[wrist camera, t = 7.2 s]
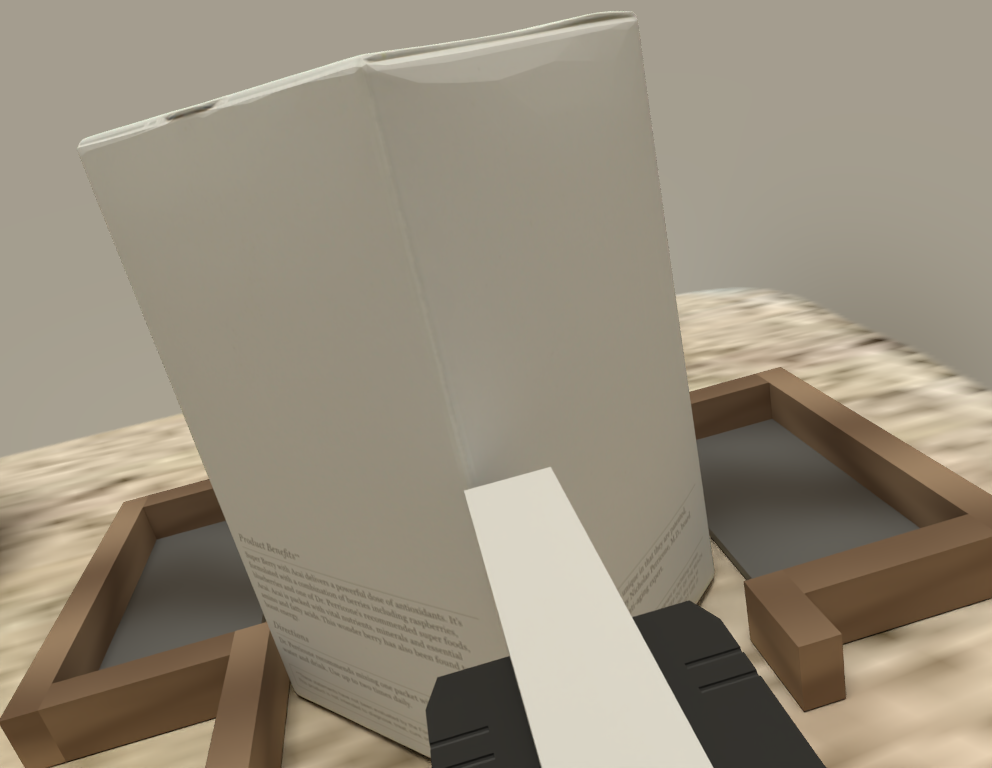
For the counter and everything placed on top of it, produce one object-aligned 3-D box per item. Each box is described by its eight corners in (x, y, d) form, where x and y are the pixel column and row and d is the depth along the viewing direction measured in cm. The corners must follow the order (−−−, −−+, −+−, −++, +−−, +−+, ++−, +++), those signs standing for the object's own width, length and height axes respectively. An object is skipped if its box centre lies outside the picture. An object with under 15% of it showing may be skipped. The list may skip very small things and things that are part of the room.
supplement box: (727, 574, 22) (655, -1, 17) (561, 833, 16) (359, 46, 10) (479, 519, 28) (365, 75, 22) (284, 694, 21) (58, 135, 16)
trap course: (1087, 621, 18) (1092, 556, 17) (-78, 991, 16) (-122, 931, 15) (660, 323, 43) (656, 291, 42) (184, 449, 40) (171, 418, 40)
